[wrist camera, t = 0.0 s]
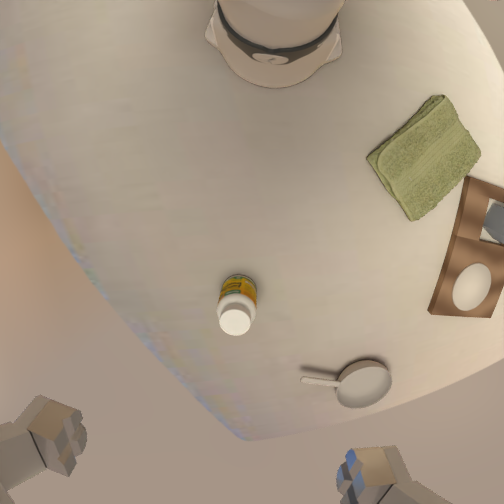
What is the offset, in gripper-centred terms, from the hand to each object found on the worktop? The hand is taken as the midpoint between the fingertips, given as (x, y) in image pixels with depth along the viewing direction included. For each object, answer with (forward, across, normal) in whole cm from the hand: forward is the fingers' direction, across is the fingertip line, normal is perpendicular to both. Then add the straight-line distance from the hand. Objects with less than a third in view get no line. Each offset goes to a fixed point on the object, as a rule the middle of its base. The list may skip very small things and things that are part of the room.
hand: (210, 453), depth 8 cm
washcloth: (+38, -25, -15) cm, 48 cm away
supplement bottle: (+40, 0, +10) cm, 41 cm away
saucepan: (+42, -21, +25) cm, 53 cm away
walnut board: (+39, -41, -2) cm, 56 cm away
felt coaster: (+38, -40, +4) cm, 55 cm away
